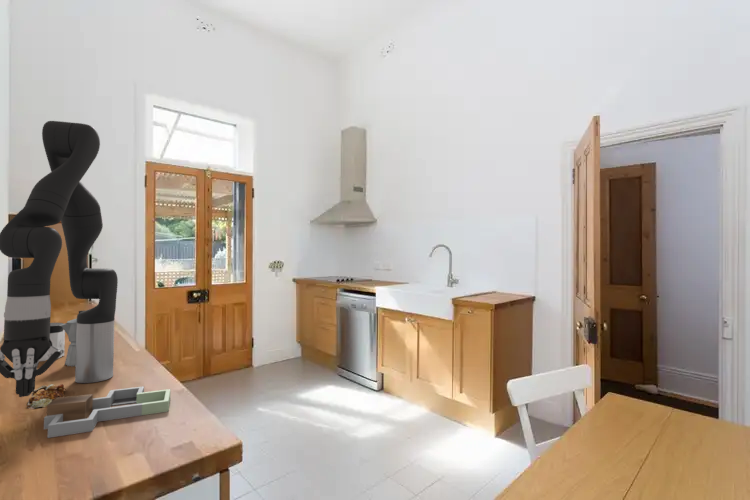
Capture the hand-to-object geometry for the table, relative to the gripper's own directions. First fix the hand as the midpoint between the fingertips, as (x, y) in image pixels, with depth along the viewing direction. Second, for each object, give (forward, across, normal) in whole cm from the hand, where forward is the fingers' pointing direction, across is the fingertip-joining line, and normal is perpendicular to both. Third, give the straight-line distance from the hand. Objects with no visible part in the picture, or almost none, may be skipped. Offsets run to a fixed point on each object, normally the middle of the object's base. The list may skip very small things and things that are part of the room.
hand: (25, 395), depth 83 cm
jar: (+6, +13, -64) cm, 66 cm away
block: (+7, -8, 0) cm, 10 cm away
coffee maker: (+6, 0, -54) cm, 54 cm away
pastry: (+7, +1, -17) cm, 18 cm away
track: (+6, -16, 0) cm, 18 cm away
